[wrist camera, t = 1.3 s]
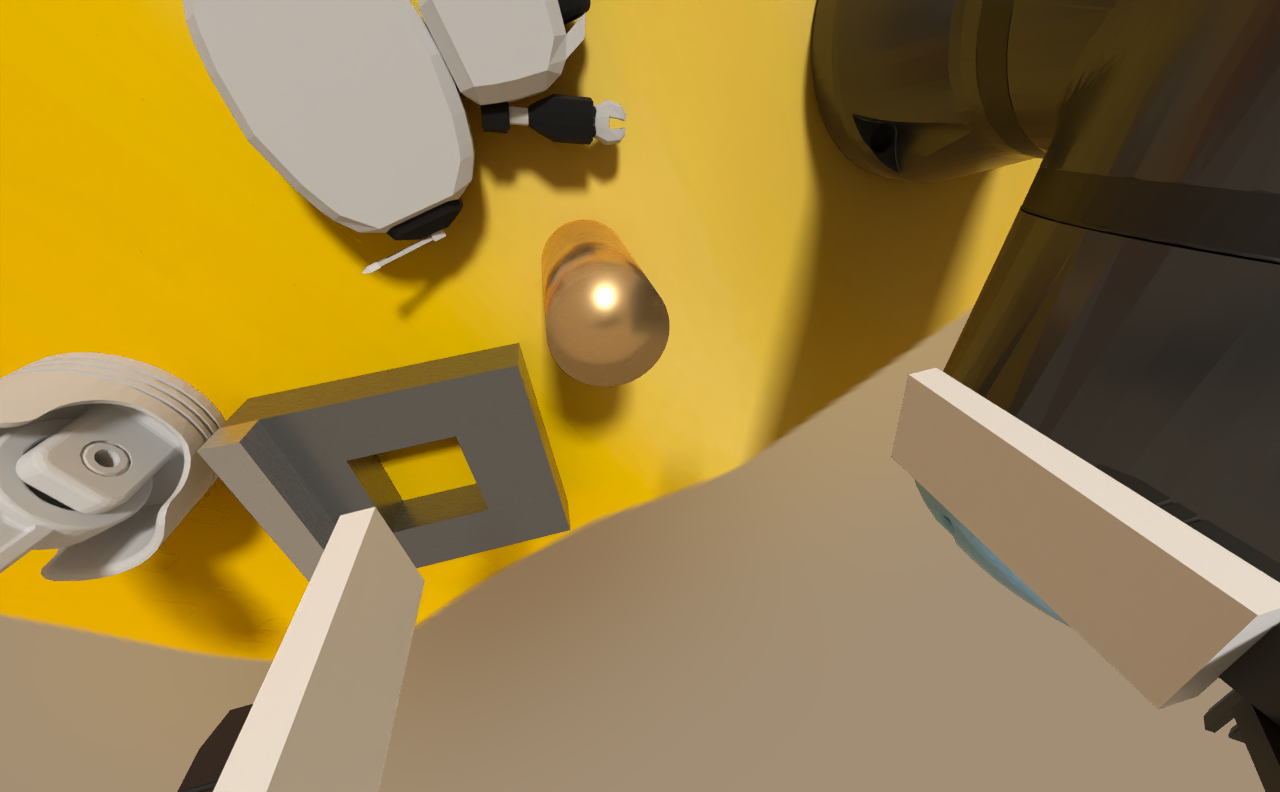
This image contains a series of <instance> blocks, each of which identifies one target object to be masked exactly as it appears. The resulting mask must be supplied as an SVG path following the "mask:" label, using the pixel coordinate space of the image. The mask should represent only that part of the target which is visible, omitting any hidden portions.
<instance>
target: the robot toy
mask: <svg viewBox="0 0 1280 792" xmlns="http://www.w3.org/2000/svg"><path fill="white" fill-rule="evenodd" d="M183 5H184V12H185V19H186V23H187V26H188V29H189V31H190V34H191V37H192V40H193V42H194V44H195V47H196V49H197V51H198V53H199V55H200V57H201V59H202V61H203V63H204V66H205V68H206V70H207V72H208V74H209V76H210V78H211V80H212V81H213V83H214V85H215V86H216V88H217V90H218V91H219V93H220V95H221V96H222V98H223V100H224V101H225V103H226V105H227V107H228V108H229V110H230V112H231V113H232V115H233V117H234V118H235V120H236V122H237V123H238V125H239V127H240V128H241V130H242V132H243V133H244V135H245V137H246V138H247V140H248V141H249V142H250V143H251V144H252V145H253V146H254V147H255V148H256V150H257V151H258V152H259V153H260V154H261V155H262V156H263V157H264V158H265V159H266V160H267V161H268V162H269V163H270V164H271V165H272V166H273V167H274V168H275V169H276V170H277V171H278V172H279V173H280V174H281V175H282V176H283V177H284V178H285V180H286V181H287V182H288V183H289V184H290V185H291V186H292V187H293V188H294V189H295V190H296V191H297V192H299V193H300V194H301V195H302V196H303V197H304V198H306V199H307V200H308V201H309V202H310V203H311V204H313V205H314V206H315V207H316V208H317V209H318V210H320V211H321V212H322V213H324V214H325V215H327V216H328V217H329V218H331V219H332V220H334V221H336V222H338V223H340V224H342V225H344V226H347V227H349V228H351V229H353V230H355V231H357V232H359V233H387V234H388V235H390V236H391V237H392V238H393V239H395V240H415V239H422V238H425V237H427V236H429V235H430V236H429V237H427V238H425V239H423V240H421V241H419V242H417V243H415V244H413V245H411V246H409V247H407V248H405V249H403V250H401V251H399V252H397V253H395V254H393V255H391V256H389V257H387V258H385V259H383V260H381V261H379V262H375V263H373V264H371V265H369V266H367V267H366V268H365V270H364V271H363V272H362V273H372V272H374V271H376V270H377V269H379V268H381V266H383V265H385V264H387V263H389V262H391V261H393V260H395V259H397V258H399V257H401V256H403V255H405V254H407V253H409V252H410V251H412V250H414V249H416V248H418V247H420V246H422V245H424V244H426V243H428V242H430V241H432V240H433V241H437V240H439V239H441V238H443V237H445V236H446V234H445V232H444V231H443V229H444V228H446V227H448V226H449V225H450V224H451V223H452V221H453V220H454V219H455V218H456V216H457V215H458V214H459V212H460V211H461V209H462V207H463V203H462V199H461V195H462V194H463V192H464V191H465V189H466V188H467V186H468V185H469V184H470V182H471V181H472V178H473V173H474V160H475V149H474V141H473V136H472V132H471V128H470V124H469V120H468V116H467V112H466V109H465V106H464V104H463V101H462V98H461V95H460V92H461V93H462V94H463V95H464V96H465V97H467V98H468V99H470V100H472V101H473V102H475V103H476V104H478V105H480V106H481V113H482V124H483V131H484V132H498V133H507V132H508V130H509V129H510V125H523V126H529V127H531V128H532V129H534V130H535V131H537V132H538V133H540V134H541V135H543V136H545V137H547V138H548V139H550V140H552V141H553V142H561V143H575V144H591V142H592V141H593V137H594V138H596V139H597V140H599V141H600V142H602V143H603V144H605V145H611V144H616V143H620V141H621V140H622V138H623V137H624V135H625V128H621V129H609V118H615V119H620V120H622V121H624V120H625V121H626V113H625V111H624V110H623V108H622V106H621V104H618V103H615V102H613V101H610V100H606V101H604V102H602V103H599V104H597V105H595V106H593V101H592V99H591V98H588V97H578V96H568V95H557V94H552V95H550V96H548V97H546V98H544V99H541V100H539V101H537V102H535V103H533V104H532V105H530V106H528V107H523V106H511V105H509V104H508V103H510V102H514V101H518V100H522V99H525V98H528V97H531V96H535V95H538V94H541V93H543V92H544V91H546V90H547V89H548V88H549V87H550V86H551V85H552V84H553V83H554V82H555V80H556V79H557V78H558V77H559V76H560V75H561V73H562V70H563V67H564V64H565V61H566V59H567V58H568V57H569V56H570V54H571V53H572V52H573V51H574V50H575V49H576V48H577V46H578V45H579V44H580V43H581V42H582V41H583V40H584V38H585V13H586V12H587V11H588V10H589V8H590V0H419V11H420V13H421V15H422V17H423V19H424V21H425V23H426V25H427V26H426V25H425V23H424V22H423V20H422V19H421V17H420V16H419V14H418V13H417V11H416V10H415V8H414V7H413V5H412V4H411V2H410V1H409V0H183ZM582 15H583V16H582ZM581 16H582V17H581ZM579 17H581V18H580V19H579V20H578V21H577V23H576V24H575V25H574V26H573V27H572V28H571V30H570V31H569V32H568V33H567V34H566V31H565V27H564V24H567V23H569V22H571V21H573V20H575V19H577V18H579ZM427 27H428V28H427ZM457 86H458V87H457ZM458 88H459V90H460V92H459V90H458ZM362 273H361V274H362Z"/></svg>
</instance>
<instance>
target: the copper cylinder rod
mask: <svg viewBox="0 0 1280 792" xmlns="http://www.w3.org/2000/svg"><path fill="white" fill-rule="evenodd" d="M542 276H543V289H544V303H545V317H546V330H547V341H548V346H549V349H550V352H551V354H552V356H553V358H554V360H555V361H556V363H557V364H558V365H559V367H560V368H561V369H562V370H563V371H564V372H565V373H567V374H568V375H569V376H571V377H572V378H574V379H576V380H578V381H580V382H582V383H585V384H588V385H593V386H601V387H609V386H617V385H622V384H625V383H628V382H631V381H633V380H635V379H637V378H639V377H640V376H642V375H643V374H645V373H646V372H647V371H648V370H650V369H651V368H652V367H653V366H654V364H655V363H656V362H657V361H658V359H659V358H660V357H661V355H662V353H663V351H664V349H665V346H666V344H667V340H668V336H669V317H668V313H667V310H666V307H665V304H664V302H663V300H662V299H661V297H660V296H659V294H658V293H657V292H656V290H655V289H654V287H653V286H652V284H651V283H650V282H649V280H648V279H647V277H646V276H645V274H644V273H643V272H642V270H641V269H640V267H639V266H638V264H637V263H636V262H635V260H634V259H633V257H632V256H631V254H630V253H629V252H628V250H627V249H626V247H625V246H624V244H623V243H622V242H621V240H620V239H619V237H618V236H617V235H616V234H615V233H614V232H613V231H612V230H611V229H610V228H608V227H607V226H605V225H603V224H601V223H599V222H595V221H591V220H577V221H573V222H570V223H567V224H565V225H563V226H561V227H560V228H559V229H557V230H556V231H555V232H554V233H553V234H552V235H551V236H550V238H549V239H548V241H547V243H546V245H545V247H544V250H543V254H542Z"/></svg>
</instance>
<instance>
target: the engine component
mask: <svg viewBox="0 0 1280 792" xmlns="http://www.w3.org/2000/svg"><path fill="white" fill-rule="evenodd" d="M225 422H226V421H225V419H224V417H223V416H222V414H221V413H220V412H219V410H218V409H217V408H216V407H215V406H214V405H213V403H212V402H211V401H209V400H208V399H207V398H206V397H205V396H204V395H203V394H202V393H200V392H199V391H198V390H196V389H195V388H193V387H192V386H191V385H189V384H188V383H187V382H185V381H183V380H181V379H180V378H178V377H176V376H174V375H172V374H170V373H169V372H166V371H164V370H162V369H159V368H157V367H155V366H152V365H149V364H146V363H143V362H140V361H137V360H134V359H130V358H126V357H122V356H117V355H109V354H102V353H94V352H88V353H65V354H59V355H53V356H48V357H46V358H43V359H40V360H38V361H35V362H33V363H30V364H28V365H26V366H24V367H22V368H21V369H19V370H17V371H14V372H13V373H11V374H9V375H7V376H5V377H3V378H1V379H0V573H1V572H2V571H4V570H5V569H6V568H8V567H9V566H11V565H12V564H13V563H15V562H16V561H17V560H19V559H20V558H21V557H23V556H24V555H25V554H27V553H28V552H29V551H31V550H32V549H34V550H42V549H55V548H59V549H58V552H57V553H56V555H55V556H54V557H53V558H52V559H51V560H50V561H49V562H48V563H47V564H46V565H45V566H44V567H43V568H42V571H41V575H42V576H43V577H44V578H45V579H49V580H53V581H81V580H89V579H97V578H102V577H107V576H112V575H115V574H118V573H121V572H124V571H127V570H129V569H132V568H134V567H136V566H138V565H140V564H141V563H143V562H144V561H146V560H147V559H148V558H150V557H151V556H152V555H153V553H154V552H155V551H156V550H157V549H158V548H159V547H160V546H161V545H162V543H163V542H164V541H165V540H166V539H167V538H168V536H169V535H170V534H171V533H172V532H173V531H174V529H175V528H176V527H177V526H178V525H179V524H180V522H181V521H182V520H183V519H184V518H185V517H186V515H187V514H188V513H189V512H190V511H191V509H192V508H193V507H194V506H195V505H196V504H197V502H198V501H199V500H200V499H201V498H202V497H203V495H204V494H205V493H206V491H207V490H208V489H209V488H210V487H211V486H212V484H213V483H214V482H215V481H216V480H217V479H218V477H219V476H218V475H217V474H216V473H215V472H214V471H213V469H212V468H211V467H210V466H209V465H208V464H207V462H206V461H205V460H204V459H203V458H202V457H201V456H200V454H199V453H198V452H197V450H198V449H199V448H200V447H201V446H202V445H203V444H204V443H205V442H206V441H207V440H208V439H209V438H210V437H211V436H212V435H213V434H214V433H215V432H216V431H217V430H218V429H219V428H220V427H221V426H222V425H223V424H224V423H225Z"/></svg>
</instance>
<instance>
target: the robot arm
mask: <svg viewBox="0 0 1280 792" xmlns="http://www.w3.org/2000/svg"><path fill="white" fill-rule="evenodd" d="M812 58H813V76H814V84H815V91H816V96H817V100H818V105H819V108H820V111H821V114H822V117H823V120H824V122H825V125H826V127H827V129H828V131H829V133H830V135H831V136H832V138H833V140H834V141H835V143H836V144H837V146H838V147H839V148H840V150H841V151H842V152H843V153H844V154H845V155H846V156H847V157H848V158H849V159H850V160H851V161H852V162H854V163H855V164H856V165H857V166H859V167H861V168H862V169H864V170H866V171H868V172H870V173H872V174H875V175H878V176H881V177H886V178H891V179H896V180H902V181H907V182H915V183H931V182H942V181H948V180H952V179H957V178H960V177H964V176H968V175H972V174H976V173H980V172H983V171H987V170H991V169H995V168H999V167H1002V166H1006V165H1010V164H1014V163H1018V162H1022V161H1025V160H1029V159H1033V158H1043V161H1042V163H1041V165H1040V168H1039V170H1038V172H1037V174H1036V176H1035V179H1034V181H1033V183H1032V185H1031V187H1030V189H1029V191H1028V194H1027V196H1026V198H1025V200H1024V202H1023V204H1022V206H1021V207H1020V209H1019V212H1018V214H1017V216H1016V218H1015V220H1014V222H1013V224H1012V227H1011V229H1010V231H1009V233H1008V235H1007V237H1006V240H1005V242H1004V244H1003V246H1002V248H1001V250H1000V253H999V255H998V257H997V259H996V261H995V263H994V265H993V267H992V269H991V272H990V274H989V276H988V278H987V280H986V282H985V284H984V286H983V288H982V290H981V293H980V295H979V297H978V299H977V301H976V303H975V305H974V307H973V309H972V312H971V314H970V316H969V318H968V320H967V322H966V324H965V327H964V328H963V331H962V333H961V335H960V337H959V339H958V341H957V343H956V345H955V348H954V349H953V352H952V354H951V356H950V358H949V360H948V362H947V364H946V366H945V368H944V371H943V372H942V371H941V370H939V369H937V368H933V369H929V370H925V371H921V372H917V373H913V374H909V376H908V380H907V385H906V390H905V394H904V399H903V404H902V409H901V414H900V418H899V423H898V428H897V433H896V438H895V442H894V447H893V452H892V456H891V457H892V458H893V459H894V460H895V461H896V462H897V463H899V464H900V465H901V466H902V467H903V468H904V469H905V470H906V471H907V472H908V473H909V474H910V475H911V476H912V477H913V478H914V479H915V482H916V485H917V487H918V489H919V491H920V493H921V496H922V498H923V500H924V502H925V503H926V505H927V507H928V508H929V510H930V511H931V512H932V514H933V515H934V517H935V519H936V520H937V521H938V522H939V523H940V524H941V525H942V526H943V527H944V528H945V529H947V530H948V531H949V532H950V534H952V536H953V537H954V539H955V541H956V544H957V545H958V546H959V547H960V548H961V549H962V550H963V551H964V552H965V553H966V554H967V555H968V556H969V557H970V558H971V559H972V560H974V561H975V562H976V563H977V564H978V565H979V566H980V567H981V568H982V569H984V570H985V571H986V572H987V573H989V574H990V575H991V576H992V577H993V578H995V579H996V580H997V581H998V582H1000V583H1001V584H1002V585H1004V586H1005V587H1006V588H1008V589H1009V590H1010V591H1012V592H1013V593H1015V594H1016V595H1018V596H1019V597H1020V598H1022V599H1023V600H1025V601H1026V602H1028V603H1029V604H1031V605H1033V606H1034V607H1036V608H1037V609H1039V610H1041V611H1042V612H1044V613H1046V614H1047V615H1049V616H1051V617H1053V618H1055V619H1056V620H1058V621H1060V622H1062V623H1064V624H1066V625H1068V626H1069V627H1071V628H1073V629H1074V630H1075V631H1076V632H1077V633H1078V634H1079V635H1080V636H1081V637H1082V638H1083V639H1084V640H1085V641H1086V642H1088V644H1090V645H1091V646H1092V647H1093V648H1094V649H1095V650H1096V651H1097V652H1098V653H1099V654H1100V655H1101V656H1102V657H1103V658H1104V659H1105V660H1106V661H1107V662H1109V663H1110V664H1111V665H1112V666H1113V667H1114V668H1115V669H1116V670H1117V671H1118V672H1119V673H1120V674H1121V675H1122V676H1123V677H1124V678H1125V679H1126V680H1127V681H1129V682H1130V683H1131V684H1132V685H1133V686H1134V687H1135V688H1136V689H1137V690H1138V691H1139V692H1140V693H1141V694H1142V695H1143V696H1144V697H1145V698H1146V699H1148V700H1149V701H1150V702H1151V703H1152V704H1153V705H1154V706H1155V707H1156V708H1157V709H1161V708H1164V707H1167V706H1170V705H1173V704H1176V703H1179V702H1182V701H1184V700H1187V699H1190V698H1193V697H1196V696H1198V695H1199V694H1200V693H1201V692H1203V691H1204V690H1205V689H1206V688H1207V687H1208V686H1209V685H1211V684H1212V683H1213V682H1214V681H1215V680H1216V679H1217V678H1218V677H1219V678H1221V679H1222V680H1223V681H1224V682H1225V683H1227V684H1228V685H1229V686H1230V687H1232V688H1233V690H1232V691H1230V693H1228V694H1227V695H1226V696H1224V697H1223V698H1222V699H1221V700H1220V701H1218V702H1217V703H1216V704H1215V705H1214V706H1213V707H1211V708H1210V709H1209V711H1208V712H1207V713H1206V714H1205V716H1204V723H1205V729H1206V730H1208V731H1211V732H1214V733H1215V732H1216V731H1218V730H1219V729H1220V728H1221V727H1223V726H1224V725H1225V724H1227V723H1228V722H1229V721H1231V720H1232V719H1233V718H1235V720H1236V723H1237V725H1235V726H1234V727H1232V728H1231V731H1230V733H1229V738H1232V739H1235V740H1238V741H1240V742H1243V743H1245V744H1246V746H1247V749H1248V751H1249V753H1250V756H1251V758H1252V761H1253V763H1254V765H1255V767H1256V770H1257V772H1258V775H1259V777H1260V780H1261V782H1262V784H1263V787H1264V789H1265V792H1280V0H818V5H817V10H816V16H815V23H814V33H813V51H812ZM423 586H424V579H423V578H422V576H421V575H420V573H419V572H418V570H417V569H416V567H415V566H414V564H413V563H412V561H411V560H410V558H409V557H408V555H407V554H406V552H405V551H404V549H403V548H402V546H401V545H400V543H399V542H398V540H397V539H396V537H395V536H394V534H393V533H392V531H391V530H390V528H389V527H388V525H387V523H386V522H385V520H384V519H383V517H382V516H381V514H380V513H379V511H378V510H377V508H376V507H372V508H368V509H364V510H360V511H356V512H352V513H348V514H344V515H340V517H339V519H338V521H337V524H336V526H335V528H334V530H333V532H332V534H331V537H330V539H329V541H328V543H327V545H326V547H325V550H324V552H323V554H322V556H321V558H320V561H319V563H318V565H317V567H316V569H315V571H314V574H313V576H312V578H311V580H310V582H309V584H308V587H307V589H306V591H305V593H304V595H303V597H302V600H301V602H300V604H299V606H298V608H297V610H296V613H295V615H294V617H293V619H292V621H291V623H290V626H289V628H288V630H287V632H286V634H285V636H284V639H283V641H282V643H281V645H280V647H279V649H278V652H277V654H276V656H275V658H274V660H273V662H272V665H271V667H270V669H269V671H268V673H267V676H266V678H265V680H264V682H263V684H262V686H261V689H260V691H259V693H258V695H257V697H256V700H255V702H254V704H251V705H247V706H244V707H240V708H236V709H233V710H230V711H229V713H228V714H227V715H226V716H225V718H224V719H223V720H222V722H221V723H220V724H219V725H218V726H217V728H216V729H215V730H214V731H213V733H212V734H211V735H210V736H209V738H208V739H207V740H206V742H205V743H204V744H203V745H202V746H201V748H200V749H199V751H198V753H197V755H196V757H195V759H194V761H193V762H192V765H191V766H190V768H189V770H188V772H187V774H186V776H185V778H184V780H183V782H182V784H181V786H180V788H179V790H178V792H379V788H380V783H381V779H382V774H383V770H384V765H385V760H386V756H387V751H388V746H389V742H390V737H391V732H392V728H393V724H394V719H395V714H396V710H397V704H398V700H399V696H400V691H401V687H402V682H403V678H404V673H405V668H406V664H407V659H408V654H409V650H410V645H411V640H412V636H413V632H414V627H415V622H416V618H417V613H418V609H419V604H420V599H421V595H422V590H423Z"/></svg>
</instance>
